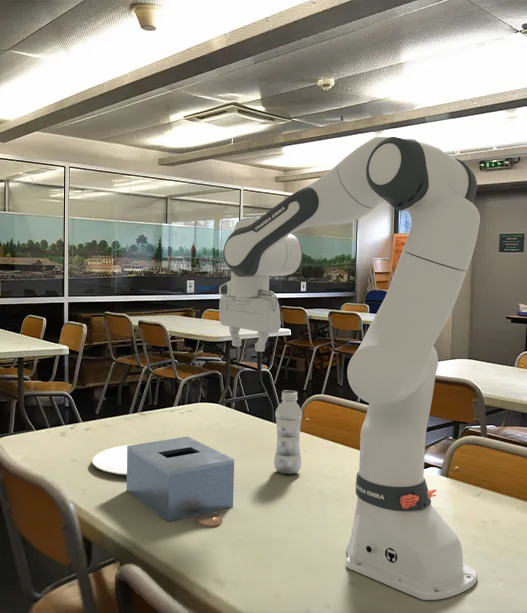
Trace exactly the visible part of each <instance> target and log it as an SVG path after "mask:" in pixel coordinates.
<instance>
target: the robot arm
mask: <svg viewBox="0 0 527 613" xmlns="http://www.w3.org/2000/svg"><path fill="white" fill-rule="evenodd" d="M477 190H478V182H477V177H476V175H475V173H474V171H473V170H472V168H470V167H469V166H468V165H467V164H466V163H465V162H463V161H462V160H460V159H458V158H454V157H453V156H451V155H450V154H448V153H446V152H444V151H443V150H441V149H440V148H439V147H436V146H434V145H431V144H428V143H425V142H421V141H418V140H416V139H415V138H412V137H408V136H399V135H398V136H392V135H388V134H380V135H377V136H375V137H373V138H371V139H370V140H368V141H366V142H365V143H363V144H361V145H360V146H358V147H357V148H355V150H353V151H351V152H350V153H349V154H348V155H347V156H346V157H344V158H343V159H342V160H341V161H340V162H339V163H338V164H336V165H335V166H334V167H332V169H330V170H329V171H327V172H326V173H325V174H324V175H322V176H321V177H320V178H318V179H316V180H315V181H313V182H311V183H310V184H308V185H306V186H305V187H303V188H300V189H299V190H298V191H296V192H293V193H292V194H290V195H289V196H288V197H287V198H285V199H284V200H282V201H281V202H279V203H278V204H277V205H275V206H273V208H271V209H270V210H268V211H267V212H266V213H265V214H263V215H262V216H261V217H257V216H255V217H246V218H242V219H240V220H238V221H237V222H236V223H235V225H234V228H233V232H231V233H230V235H229V236H228V237H227V238H226V241H225V243H224V246H223V254H222V255H223V258H224V259H223V260H224V262H225V263H226V266H227V267H228V269H229V270H230V271H231V273H230V280H228V281H227V282H225V283H223V284H222V285H220V286H219V289H218V294H219V296H220V295H221V297H220V299H219V303H218V304H219V306H218V307H219V308H218V314H219V316H218V318H219V322H220V324H221V325H222V326H225V327H228V328H229V334H230V338H231V345H232V346H233V347H241V346H242V342H243V341H242V340H243V339H242V338H241V337H240V331H241V329H242V330H248V331H253V332H257V337H258V339H257V341H256V342H255V343H254V350H255V351H256V352H259V353H260V352H265V350H266V343H267V341H268V338H269V336H270V334H275V333H279V331H280V329H281V312H280V311H281V310H280V303H279V301H278V296H277V295H276V294H275V291H272V290H269V288H270V277H273V276H274V277H281V276H282V277H285V276H289V275H293V274H294V273H296V272H297V271H298V269H299V268H300V267H301V264H302V262H303V257H304V255H303V254H304V252H303V251H304V250H303V246H302V243H301V241H300V240H299V238H298V237H297V236H296V235H295V233H296V232H298V231H300V230H303V229H305V228H311V227H312V228H313V227H319V226H331V225H338V226H339V225H348V224H351V223H352V222H353V223H354V222H355V221H358V220H359V219H362V218H363V217H365V216H367V215H368V214H370V213H371V212H372V211H373V210H374V209H376V208H377V207H378V206H380V205H381V203H383V202H387V204H389V205H390V206H392V207H393V208H394V209H395V210H396V211H398V212H399V211H401V212H402V211H404V210H406V211H407V213H408V215H409V218H410V227H409V232H408V235H407V238H406V240H405V242H404V245H403V248H402V251H401V254H400V257H399V258H398V262H397V265H396V267H395V270H394V274H393V276H392V278H391V282H390V284H389V287H388V289H387V292H386V294H385V297H384V299H383V300H382V302H381V304H380V306H379V309H378V310H377V312H376V314H375V315H374V317H373V319H372V321H371V323H370V324H369V327H368V329H367V330H366V333H365V335H364V337H363V339H362V341H361V342H360V345H359V347H358V348H357V350H356V351H355V352H354V354H353V355H352V357H351V358H350V360H349V361H348V365H347V371H346V374H347V380H348V383H349V386H350V388H351V390H352V392H353V393H354V394H355V395H356V396H357V397H358V398H359V399H361V400H362V401H364V402H366V403H368V408H367V412H366V414H365V417H364V421H363V423H362V425H361V429H360V440H359V444H360V445H359V466H358V468H359V470H358V471H357V473H356V479H355V495H356V496H357V501H356V506H355V507H356V508H355V513H354V516H353V517H354V518H353V523H352V528H351V529H352V530H351V535H350V538H349V541H348V544H347V545H346V546H347V547H346V554H347V558H346V564H345V566H346V567H347V569H349V570H352V571H354V572H356V573H359V574H361V575H364V576H366V577H368V578H370V579H373V580H375V581H378V582H379V583H382V584H383V585H384V584H385V585H386V586H389V587H392V588H393V589H396V590H398V591H401V592H403V593H405V594H407V595H410V596H412V597H415V598H417V599H420V600H422V601H423V600H424V601H436V600H442V599H447V598H450V597H455V596H456V595H459V594H461V593H463V592H465V591H467V590H469V589H470V588H472V587H473V586H474V585H475V584H476V582H477V580H478V572H477V570H475V569H474V568H473V567H471V566H469V565H468V564H467V563H465V562H464V556H463V547H462V543H461V540H460V538H459V536H458V535H457V534H456V533H455V531H453V529H451V527H450V526H449V524H447V522H446V521H445V520H444V519H443V517H442V516H441V515H440V514H439V512H438V511H437V510H436V509H435V508H434V506H433V505H432V504H431V503H432V499H431V498H433V497H437V494H434V493H436V492H437V489H432V490H431V489H430V490H429V488H428V484H427V481H426V479H425V477H424V475H425V474H424V471H425V470H424V469H425V451H426V450H425V449H426V438H427V437H426V436H427V429H428V422H429V418H430V412H431V407H432V401H433V395H434V388H435V382H436V374H437V370H438V368H439V367H438V366H439V356H438V352H437V350H436V347H434V345H435V343H436V341H437V340H438V339H439V336H440V334H441V332H442V330H443V329H444V327H445V325H446V323H447V321H448V320H449V319H450V317H451V316H452V312H453V309H454V307H455V305H456V303H457V302H456V301H457V299H458V296H459V294H460V291H461V288H462V287H463V286H462V285H463V283H464V280H465V278H466V275H467V272H468V269H469V267H470V264H471V261H472V257H473V255H474V251H475V247H476V244H477V239H478V235H479V228H480V224H481V215H480V212H479V209H478V208H477V206H476V205H475V204H474V203H473V202H474V200H475V198H476V195H477ZM293 233H294V234H293ZM255 351H254V352H255Z"/></svg>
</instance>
